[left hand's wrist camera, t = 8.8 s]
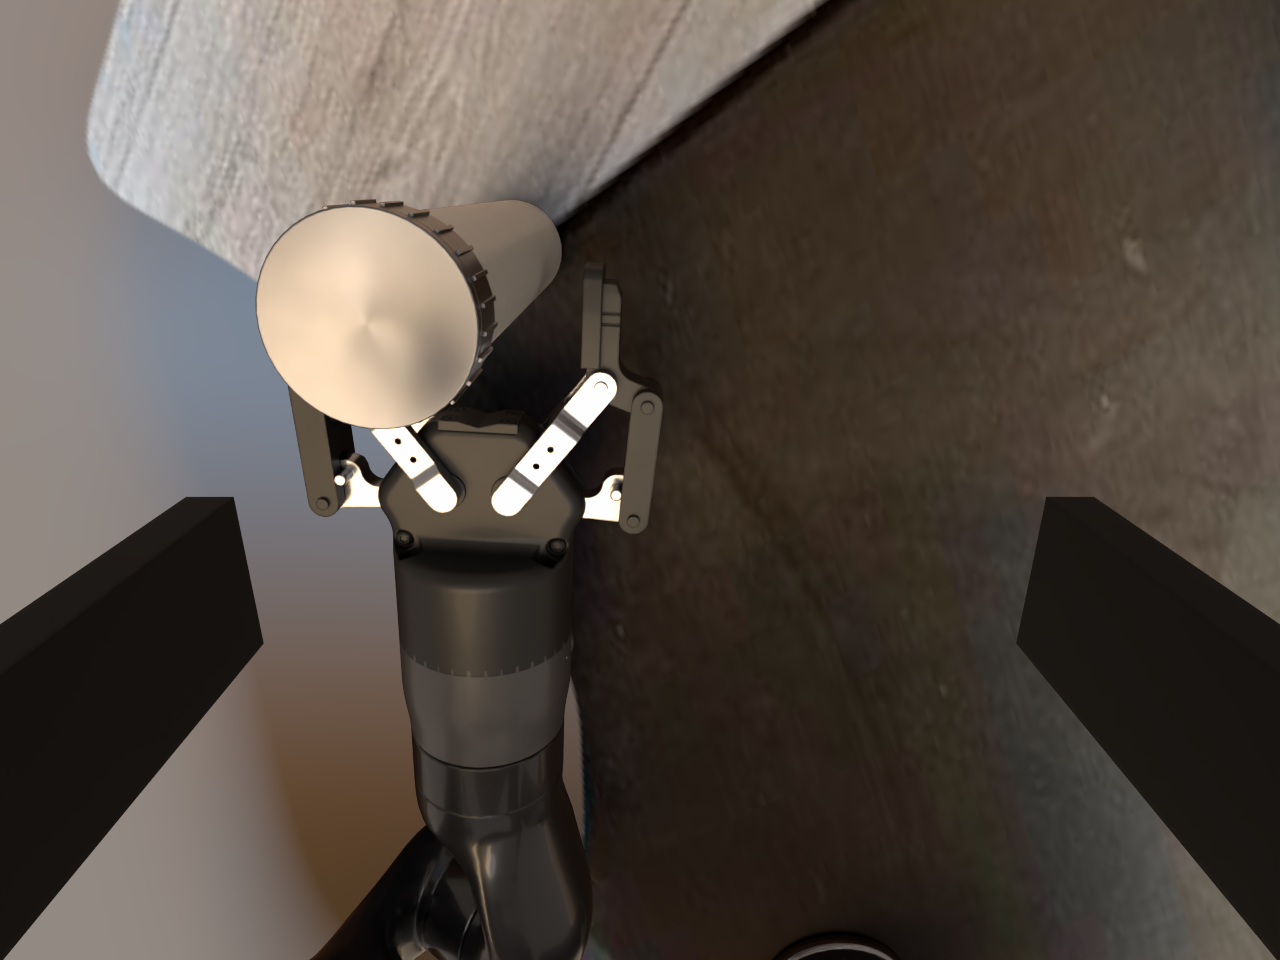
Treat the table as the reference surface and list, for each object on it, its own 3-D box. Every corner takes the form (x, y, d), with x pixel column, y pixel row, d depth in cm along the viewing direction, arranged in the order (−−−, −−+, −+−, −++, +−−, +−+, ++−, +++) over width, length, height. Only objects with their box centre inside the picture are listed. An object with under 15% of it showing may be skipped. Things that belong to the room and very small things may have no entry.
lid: (245, 276, 18) (201, 286, 16) (411, 154, 17) (383, 150, 15) (379, 445, 19) (352, 471, 18) (539, 341, 18) (527, 359, 17)
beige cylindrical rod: (448, 234, 34) (235, 288, 17) (525, 179, 33) (388, 176, 16) (504, 315, 36) (361, 446, 18) (580, 265, 35) (509, 350, 17)
